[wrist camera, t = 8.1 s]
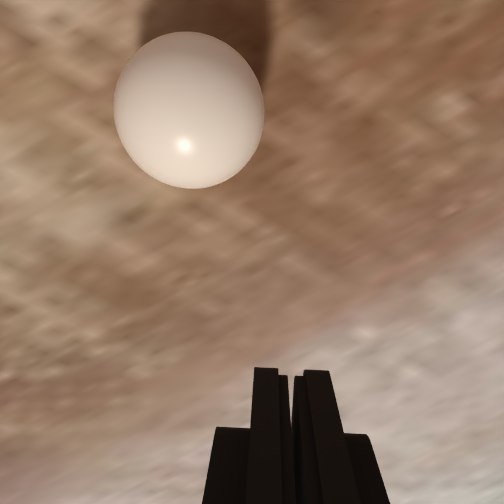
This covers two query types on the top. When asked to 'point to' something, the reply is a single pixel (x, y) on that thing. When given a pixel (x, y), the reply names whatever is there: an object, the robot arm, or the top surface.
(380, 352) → the top surface
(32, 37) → the top surface
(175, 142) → the cue ball
